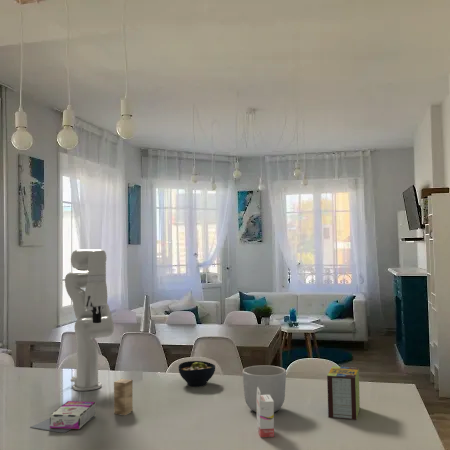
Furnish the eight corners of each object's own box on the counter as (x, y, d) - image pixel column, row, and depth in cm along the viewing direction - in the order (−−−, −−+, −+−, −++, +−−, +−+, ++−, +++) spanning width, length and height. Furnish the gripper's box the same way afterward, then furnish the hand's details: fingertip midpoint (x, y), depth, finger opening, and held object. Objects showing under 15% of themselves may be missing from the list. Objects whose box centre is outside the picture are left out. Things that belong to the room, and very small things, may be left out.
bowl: (187, 391, 223) (187, 368, 223) (173, 382, 238) (172, 361, 238) (222, 386, 231) (221, 364, 231) (205, 377, 246) (205, 357, 246)
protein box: (360, 407, 198) (359, 367, 199) (356, 420, 183) (355, 377, 184) (332, 405, 201) (331, 365, 202) (327, 417, 187) (326, 375, 187)
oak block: (114, 413, 194) (114, 382, 195) (121, 409, 199) (121, 378, 199) (125, 415, 192) (125, 383, 193) (132, 411, 197) (132, 380, 197)
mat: (30, 427, 180) (30, 426, 180) (63, 413, 196) (63, 412, 196) (63, 433, 174) (63, 432, 174) (95, 417, 190) (95, 416, 190)
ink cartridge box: (275, 437, 168) (274, 392, 169) (260, 438, 168) (259, 392, 168) (270, 428, 176) (269, 385, 177) (256, 428, 176) (255, 385, 177)
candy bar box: (67, 413, 194) (48, 428, 178) (67, 400, 194) (48, 414, 178) (95, 414, 193) (79, 429, 176) (96, 401, 193) (79, 415, 177)
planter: (262, 400, 208) (262, 363, 209) (295, 409, 196) (295, 369, 197) (233, 410, 196) (233, 370, 197) (267, 420, 184) (266, 378, 185)
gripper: (100, 277, 223) (100, 319, 222) (78, 280, 209) (78, 324, 209) (114, 278, 220) (114, 320, 219) (92, 280, 207) (92, 325, 206)
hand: (96, 322), depth 214 cm, fingers closed
